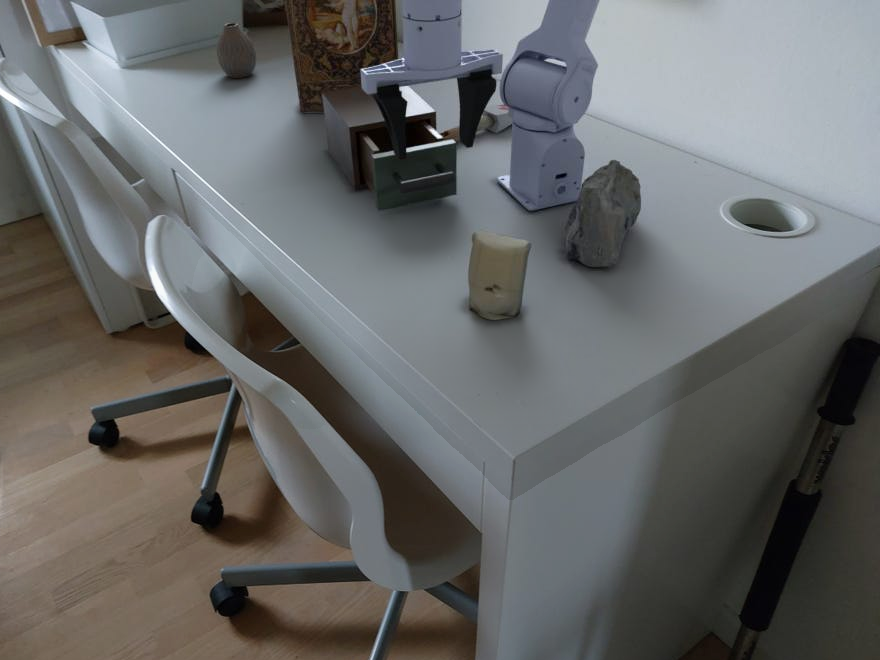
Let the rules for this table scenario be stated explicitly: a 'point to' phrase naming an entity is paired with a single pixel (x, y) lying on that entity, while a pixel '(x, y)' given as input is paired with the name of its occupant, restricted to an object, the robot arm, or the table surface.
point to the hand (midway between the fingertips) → (433, 149)
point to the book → (338, 44)
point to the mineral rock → (603, 215)
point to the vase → (236, 52)
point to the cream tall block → (497, 274)
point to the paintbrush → (485, 122)
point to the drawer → (407, 165)
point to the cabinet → (362, 124)
